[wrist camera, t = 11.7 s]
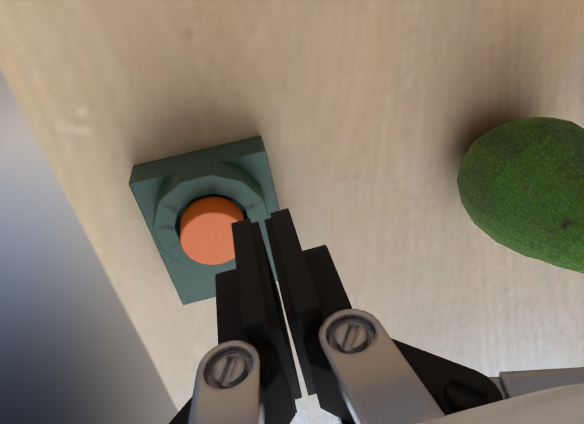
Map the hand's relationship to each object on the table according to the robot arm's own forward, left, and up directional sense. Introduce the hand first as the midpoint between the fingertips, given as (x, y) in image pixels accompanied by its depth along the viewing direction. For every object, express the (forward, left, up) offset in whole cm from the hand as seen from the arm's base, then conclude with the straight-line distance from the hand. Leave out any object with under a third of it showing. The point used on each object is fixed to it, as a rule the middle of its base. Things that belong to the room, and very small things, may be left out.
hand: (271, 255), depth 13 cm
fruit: (+17, +6, -16) cm, 24 cm away
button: (+2, -6, -12) cm, 14 cm away
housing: (+4, -8, -15) cm, 18 cm away
